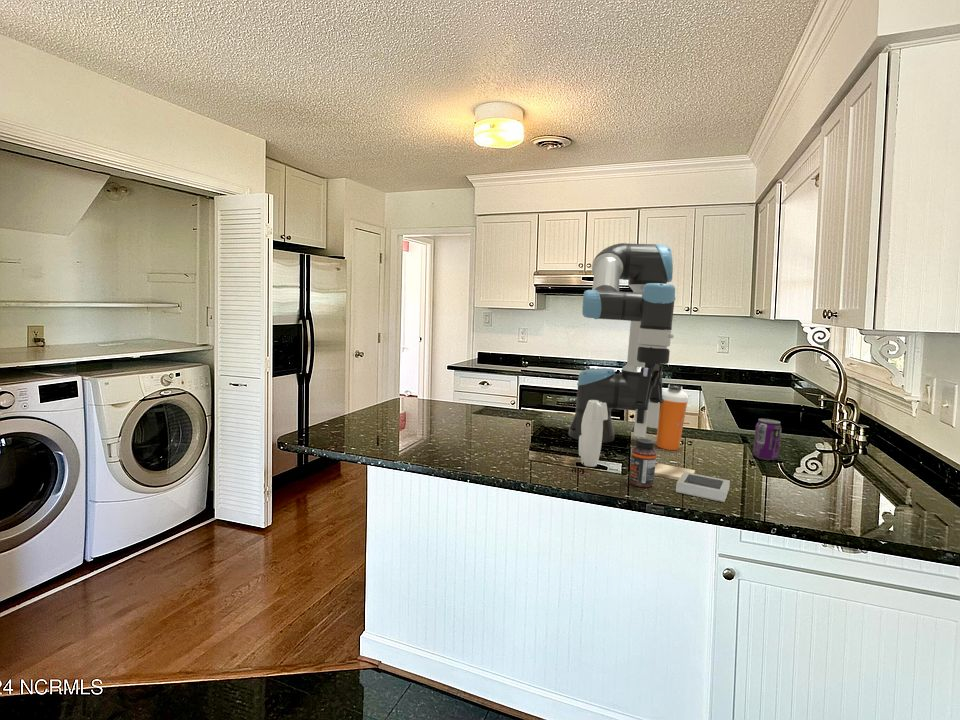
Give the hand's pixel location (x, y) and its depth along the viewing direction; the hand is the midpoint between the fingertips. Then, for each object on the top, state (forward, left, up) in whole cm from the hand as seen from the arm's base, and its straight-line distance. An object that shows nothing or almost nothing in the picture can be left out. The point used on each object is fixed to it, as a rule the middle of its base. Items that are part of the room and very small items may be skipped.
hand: (646, 431), depth 139 cm
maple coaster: (+5, +15, -14) cm, 21 cm away
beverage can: (+26, +53, -14) cm, 61 cm away
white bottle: (-16, +8, -14) cm, 23 cm away
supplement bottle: (0, 0, -14) cm, 14 cm away
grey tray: (+14, +5, -14) cm, 20 cm away
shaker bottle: (-2, +45, -14) cm, 47 cm away
